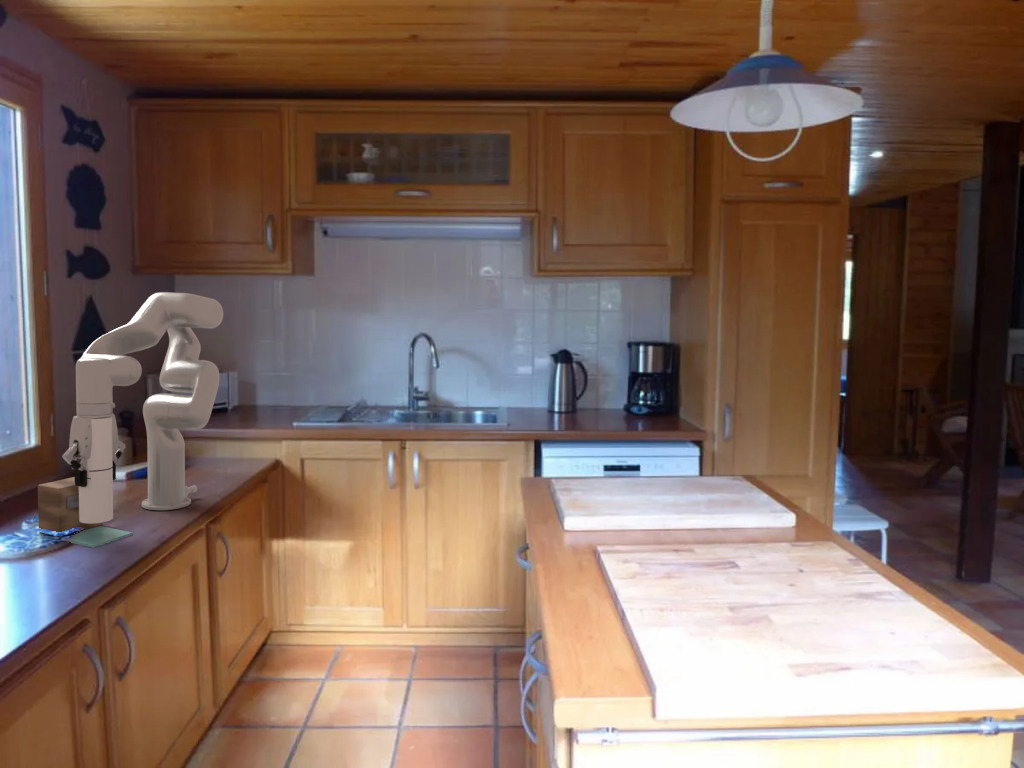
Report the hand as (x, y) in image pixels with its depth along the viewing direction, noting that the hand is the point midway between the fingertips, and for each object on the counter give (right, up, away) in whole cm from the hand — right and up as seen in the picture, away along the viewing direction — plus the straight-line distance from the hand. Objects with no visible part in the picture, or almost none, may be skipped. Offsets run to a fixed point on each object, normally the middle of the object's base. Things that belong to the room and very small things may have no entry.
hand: (95, 482), depth 177 cm
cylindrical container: (0, -9, +1) cm, 9 cm away
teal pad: (-1, -14, +1) cm, 14 cm away
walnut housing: (-10, -13, +7) cm, 18 cm away
